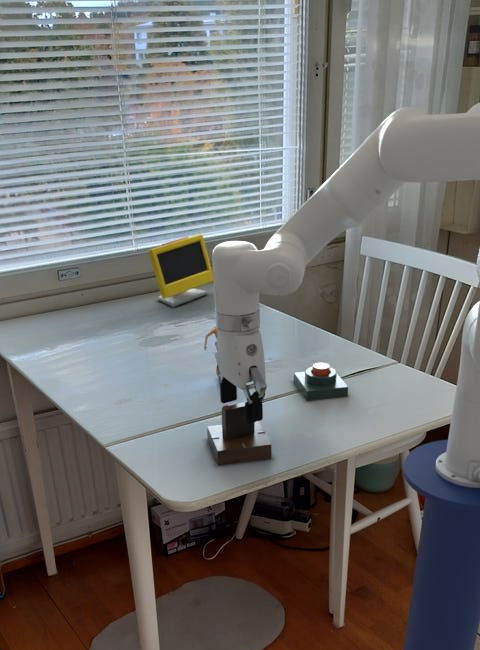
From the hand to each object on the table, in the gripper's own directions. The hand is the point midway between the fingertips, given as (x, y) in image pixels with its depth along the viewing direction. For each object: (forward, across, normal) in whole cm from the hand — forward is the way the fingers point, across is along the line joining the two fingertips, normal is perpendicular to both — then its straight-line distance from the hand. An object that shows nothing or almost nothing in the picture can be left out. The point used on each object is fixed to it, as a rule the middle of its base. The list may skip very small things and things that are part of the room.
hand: (241, 411), depth 142 cm
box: (+8, +16, -27) cm, 33 cm away
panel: (+8, 0, +1) cm, 8 cm away
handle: (+5, 0, +1) cm, 5 cm away
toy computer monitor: (+7, +86, -26) cm, 90 cm away
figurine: (+8, +31, -12) cm, 34 cm away
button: (+5, +16, -27) cm, 32 cm away
